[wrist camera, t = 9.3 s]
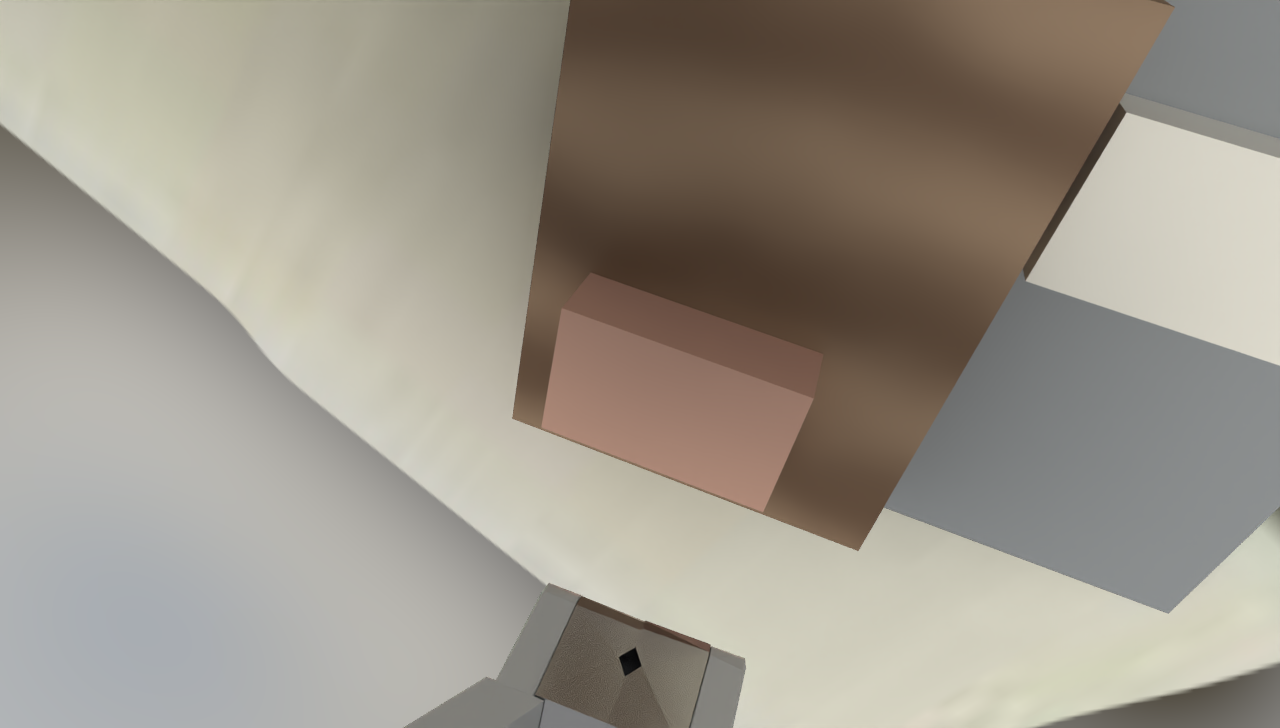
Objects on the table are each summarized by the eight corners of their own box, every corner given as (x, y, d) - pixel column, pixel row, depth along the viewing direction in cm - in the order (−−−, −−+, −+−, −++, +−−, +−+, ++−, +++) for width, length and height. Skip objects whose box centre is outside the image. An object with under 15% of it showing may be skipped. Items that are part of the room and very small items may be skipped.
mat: (1160, -35, 20) (1165, -32, 19) (1673, 102, 18) (1693, 109, 18) (868, 491, 32) (867, 501, 31) (1164, 601, 30) (1168, 613, 30)
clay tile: (590, 272, 25) (561, 307, 23) (823, 354, 24) (813, 398, 22) (568, 387, 28) (540, 427, 26) (775, 464, 27) (763, 512, 25)
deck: (641, -152, 22) (591, -153, 19) (1137, -18, 20) (1175, 7, 17) (552, 364, 33) (512, 418, 30) (865, 480, 32) (858, 550, 28)
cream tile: (1108, 88, 21) (1126, 112, 19) (1416, 179, 20) (1468, 214, 18) (1017, 245, 24) (1025, 281, 22) (1281, 332, 23) (1314, 377, 21)
